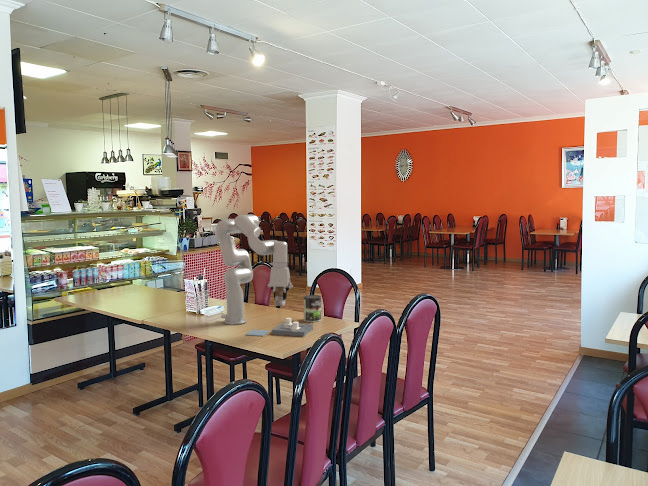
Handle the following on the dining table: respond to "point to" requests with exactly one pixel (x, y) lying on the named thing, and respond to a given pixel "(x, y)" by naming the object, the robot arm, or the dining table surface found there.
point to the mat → (257, 332)
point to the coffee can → (312, 308)
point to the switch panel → (287, 330)
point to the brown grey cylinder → (279, 296)
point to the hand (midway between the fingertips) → (280, 298)
